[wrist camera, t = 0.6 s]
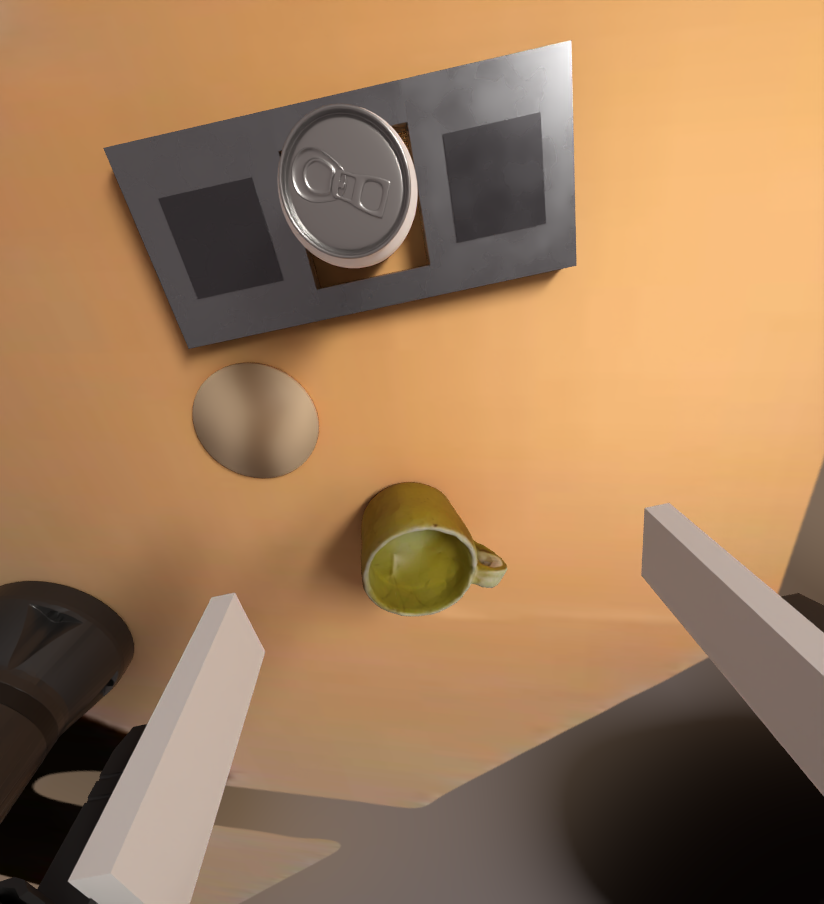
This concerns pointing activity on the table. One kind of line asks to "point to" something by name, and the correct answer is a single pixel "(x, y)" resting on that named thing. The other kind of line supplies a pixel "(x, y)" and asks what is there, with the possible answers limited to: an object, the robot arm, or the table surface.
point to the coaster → (255, 420)
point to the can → (347, 186)
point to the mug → (420, 552)
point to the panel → (439, 197)
